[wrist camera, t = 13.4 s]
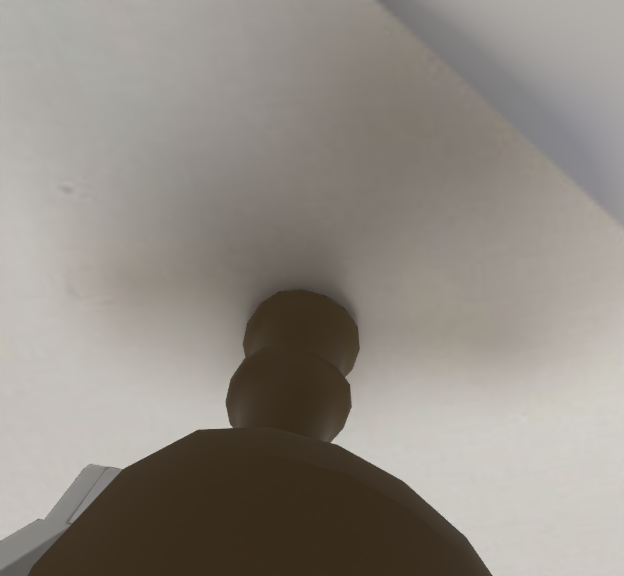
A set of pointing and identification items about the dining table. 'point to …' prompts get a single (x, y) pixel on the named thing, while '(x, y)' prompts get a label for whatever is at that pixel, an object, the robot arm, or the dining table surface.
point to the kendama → (267, 479)
